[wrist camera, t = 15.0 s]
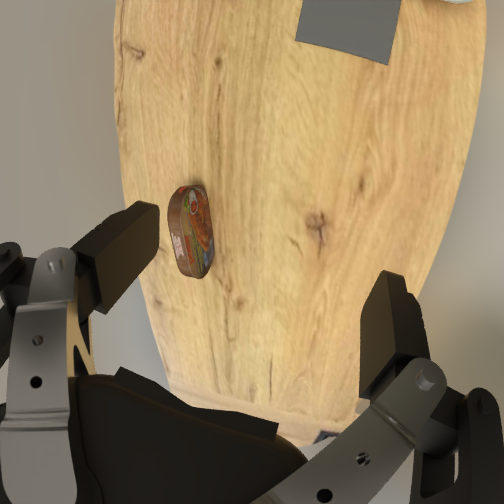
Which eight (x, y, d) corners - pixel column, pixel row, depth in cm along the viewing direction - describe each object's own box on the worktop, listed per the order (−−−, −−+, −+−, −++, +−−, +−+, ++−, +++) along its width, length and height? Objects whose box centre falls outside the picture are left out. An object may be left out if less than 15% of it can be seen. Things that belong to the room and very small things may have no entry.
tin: (216, 260, 54) (198, 290, 47) (200, 258, 55) (180, 288, 48) (205, 177, 46) (181, 198, 39) (186, 177, 47) (160, 198, 40)
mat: (295, 40, 32) (294, 40, 32) (310, -36, 26) (310, -36, 25) (387, 65, 31) (387, 65, 31) (402, -12, 24) (403, -12, 24)
